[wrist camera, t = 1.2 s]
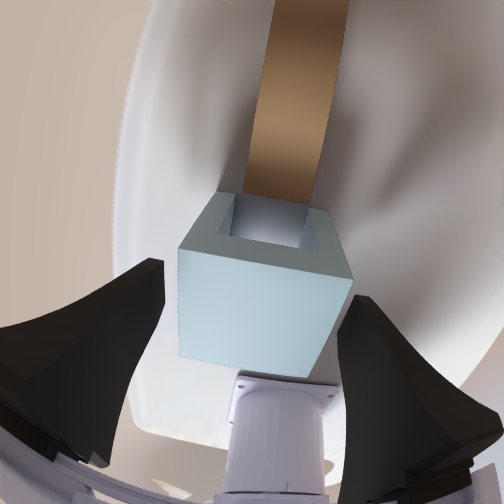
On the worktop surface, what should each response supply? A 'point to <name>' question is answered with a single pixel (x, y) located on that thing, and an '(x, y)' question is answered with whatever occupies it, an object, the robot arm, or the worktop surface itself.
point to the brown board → (295, 98)
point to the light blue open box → (258, 293)
